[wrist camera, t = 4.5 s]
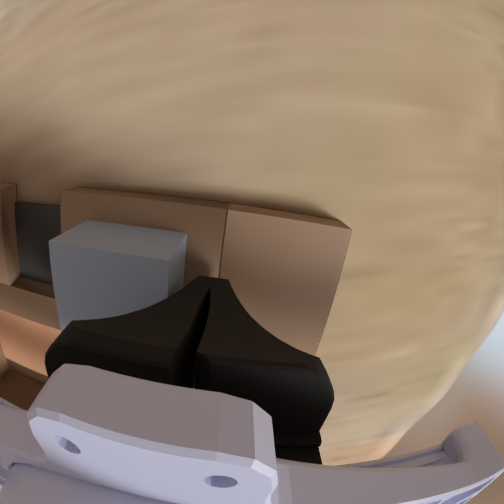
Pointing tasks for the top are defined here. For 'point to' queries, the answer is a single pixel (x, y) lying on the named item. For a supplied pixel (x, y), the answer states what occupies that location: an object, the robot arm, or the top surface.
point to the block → (114, 269)
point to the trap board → (196, 263)
